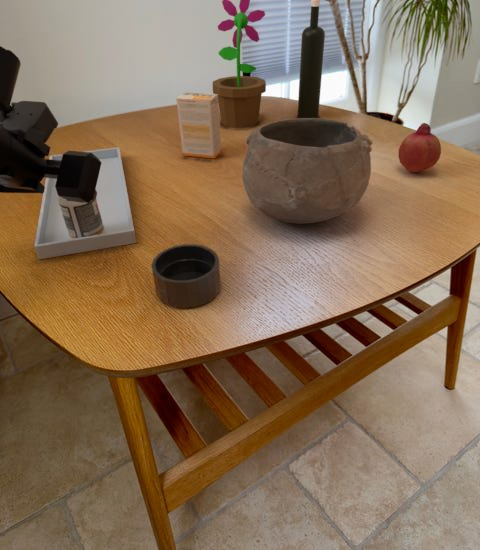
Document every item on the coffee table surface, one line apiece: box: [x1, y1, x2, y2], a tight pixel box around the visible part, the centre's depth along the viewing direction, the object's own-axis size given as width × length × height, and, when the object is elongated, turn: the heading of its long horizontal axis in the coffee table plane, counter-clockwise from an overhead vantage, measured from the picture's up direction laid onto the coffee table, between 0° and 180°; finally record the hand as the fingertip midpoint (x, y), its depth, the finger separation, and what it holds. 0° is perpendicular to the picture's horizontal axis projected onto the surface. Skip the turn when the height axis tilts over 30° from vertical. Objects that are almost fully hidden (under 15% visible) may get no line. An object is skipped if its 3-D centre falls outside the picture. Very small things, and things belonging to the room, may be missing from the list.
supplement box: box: [175, 92, 222, 159], centre depth 97 cm, size 8×5×13 cm, turn 71°
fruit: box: [397, 122, 442, 173], centre depth 87 cm, size 8×8×10 cm
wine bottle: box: [297, 0, 326, 119], centre depth 113 cm, size 6×6×30 cm
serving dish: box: [33, 146, 137, 260], centre depth 84 cm, size 15×39×2 cm, turn 16°
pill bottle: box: [58, 196, 104, 239], centre depth 69 cm, size 6×6×10 cm
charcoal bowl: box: [150, 243, 222, 309], centre depth 60 cm, size 9×9×4 cm
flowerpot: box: [212, 0, 267, 129], centre depth 111 cm, size 14×14×30 cm
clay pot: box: [241, 117, 373, 225], centre depth 73 cm, size 21×21×15 cm
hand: (69, 192), depth 66 cm, fingers open, 9 cm apart
